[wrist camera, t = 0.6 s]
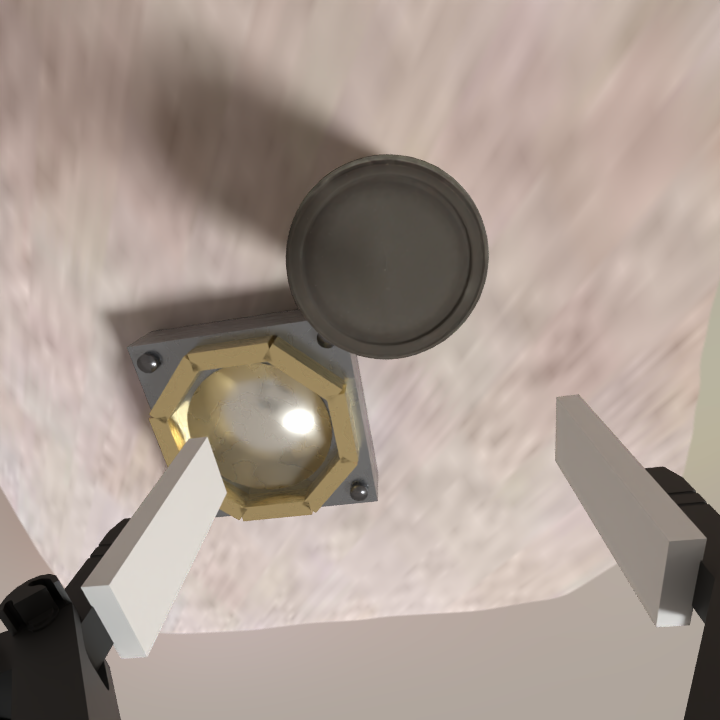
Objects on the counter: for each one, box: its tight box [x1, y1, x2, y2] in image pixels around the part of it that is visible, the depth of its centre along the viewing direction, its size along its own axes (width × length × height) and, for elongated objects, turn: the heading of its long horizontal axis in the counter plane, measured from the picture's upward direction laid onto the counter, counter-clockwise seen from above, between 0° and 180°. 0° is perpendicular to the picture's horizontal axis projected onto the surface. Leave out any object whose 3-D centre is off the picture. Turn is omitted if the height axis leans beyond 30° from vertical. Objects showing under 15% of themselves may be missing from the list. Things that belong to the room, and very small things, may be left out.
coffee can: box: [286, 154, 489, 359], centre depth 29 cm, size 10×10×14 cm
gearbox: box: [127, 309, 378, 521], centre depth 39 cm, size 18×18×6 cm
